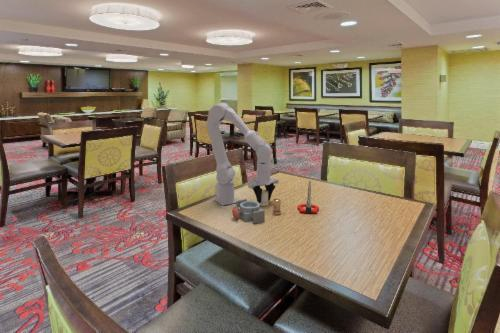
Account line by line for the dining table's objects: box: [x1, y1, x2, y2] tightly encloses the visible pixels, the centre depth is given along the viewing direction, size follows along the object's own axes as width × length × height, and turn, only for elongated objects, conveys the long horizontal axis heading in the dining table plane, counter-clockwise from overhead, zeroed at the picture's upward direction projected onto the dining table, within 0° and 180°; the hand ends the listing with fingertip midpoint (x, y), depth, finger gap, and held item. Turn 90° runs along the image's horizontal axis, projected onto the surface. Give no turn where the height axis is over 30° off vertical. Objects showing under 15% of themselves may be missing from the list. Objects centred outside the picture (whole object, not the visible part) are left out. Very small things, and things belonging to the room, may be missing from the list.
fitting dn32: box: [272, 198, 282, 216], centre depth 133 cm, size 3×3×6 cm
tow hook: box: [296, 180, 320, 215], centre depth 136 cm, size 9×14×10 cm
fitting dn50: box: [258, 189, 270, 207], centre depth 143 cm, size 5×5×6 cm
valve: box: [231, 198, 266, 225], centre depth 129 cm, size 15×11×5 cm
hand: (263, 201), depth 144 cm, fingers closed on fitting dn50, 4 cm apart
